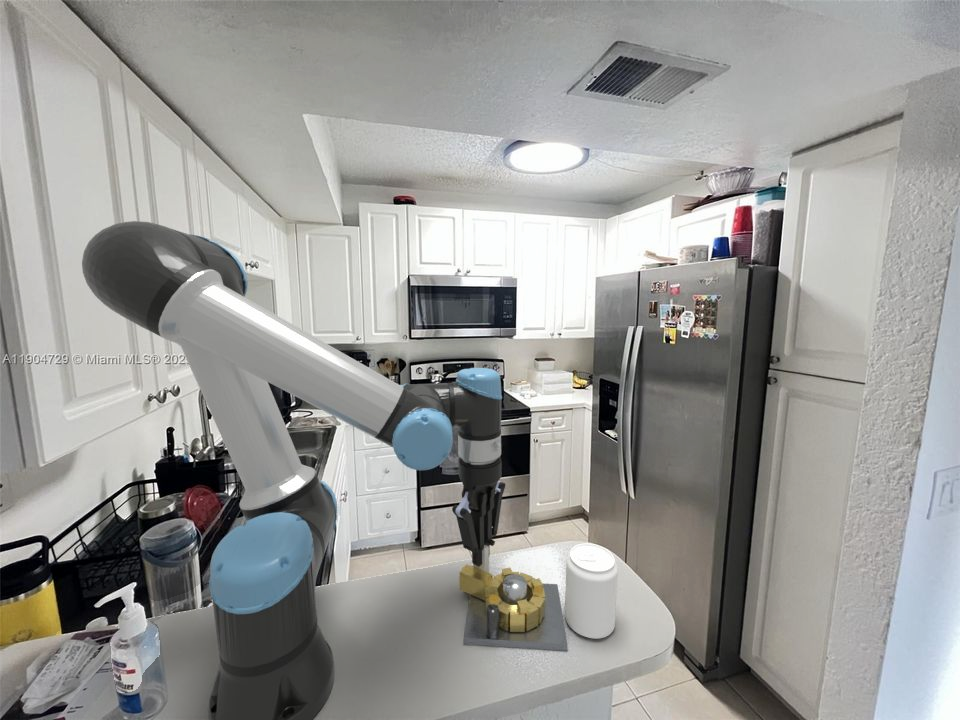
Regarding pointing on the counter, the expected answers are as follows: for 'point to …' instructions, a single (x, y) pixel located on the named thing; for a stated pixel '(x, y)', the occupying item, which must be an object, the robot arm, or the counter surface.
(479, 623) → the plate
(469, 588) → the segmented ring with handle
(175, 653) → the counter surface
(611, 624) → the beverage can
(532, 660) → the counter surface
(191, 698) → the counter surface
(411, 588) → the counter surface
